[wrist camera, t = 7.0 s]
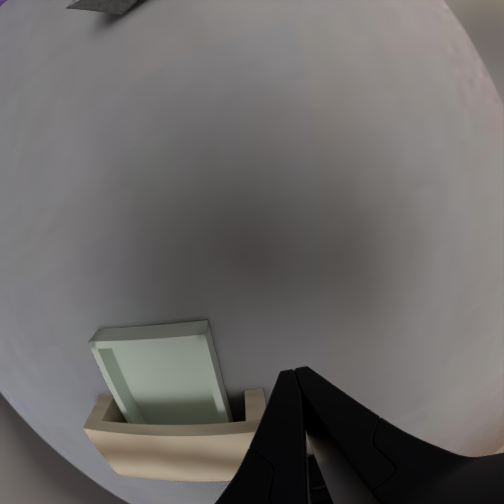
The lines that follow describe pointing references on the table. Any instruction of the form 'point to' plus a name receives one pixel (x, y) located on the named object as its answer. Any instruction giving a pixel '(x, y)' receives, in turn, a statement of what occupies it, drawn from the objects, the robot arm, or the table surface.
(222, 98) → the table surface
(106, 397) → the wooden block
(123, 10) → the paper boat
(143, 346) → the tray
